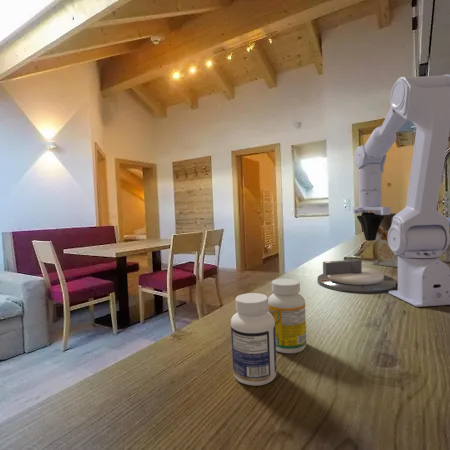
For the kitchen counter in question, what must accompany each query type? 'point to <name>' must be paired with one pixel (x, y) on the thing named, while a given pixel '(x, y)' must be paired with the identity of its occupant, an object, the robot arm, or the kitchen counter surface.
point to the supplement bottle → (288, 315)
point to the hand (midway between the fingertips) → (370, 240)
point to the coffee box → (384, 244)
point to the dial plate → (374, 288)
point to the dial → (351, 272)
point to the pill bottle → (253, 340)
